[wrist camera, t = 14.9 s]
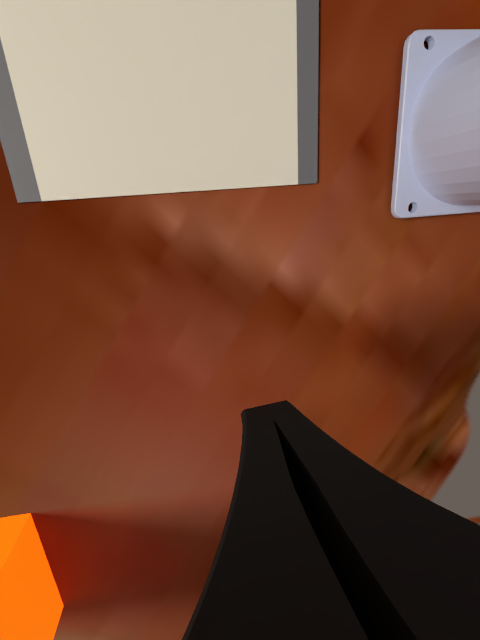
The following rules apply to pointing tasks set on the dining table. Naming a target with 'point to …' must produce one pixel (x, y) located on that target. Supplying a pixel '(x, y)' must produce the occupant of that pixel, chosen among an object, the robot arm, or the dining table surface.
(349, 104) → the dining table surface
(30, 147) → the game board
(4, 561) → the orange juice
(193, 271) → the dining table surface
